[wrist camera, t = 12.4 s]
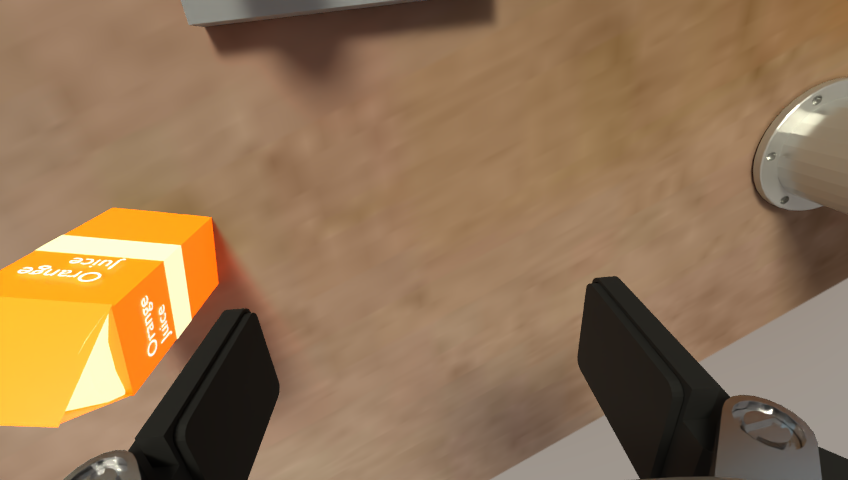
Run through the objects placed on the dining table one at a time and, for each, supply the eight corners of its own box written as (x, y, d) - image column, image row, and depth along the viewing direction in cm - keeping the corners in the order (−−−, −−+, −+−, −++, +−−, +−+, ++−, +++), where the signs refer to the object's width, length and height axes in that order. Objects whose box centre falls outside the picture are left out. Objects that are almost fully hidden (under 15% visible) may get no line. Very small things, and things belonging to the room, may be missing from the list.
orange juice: (219, 284, 40) (77, 473, 22) (127, 277, 39) (-100, 470, 21) (212, 215, 37) (39, 371, 19) (111, 205, 36) (-174, 361, 18)
